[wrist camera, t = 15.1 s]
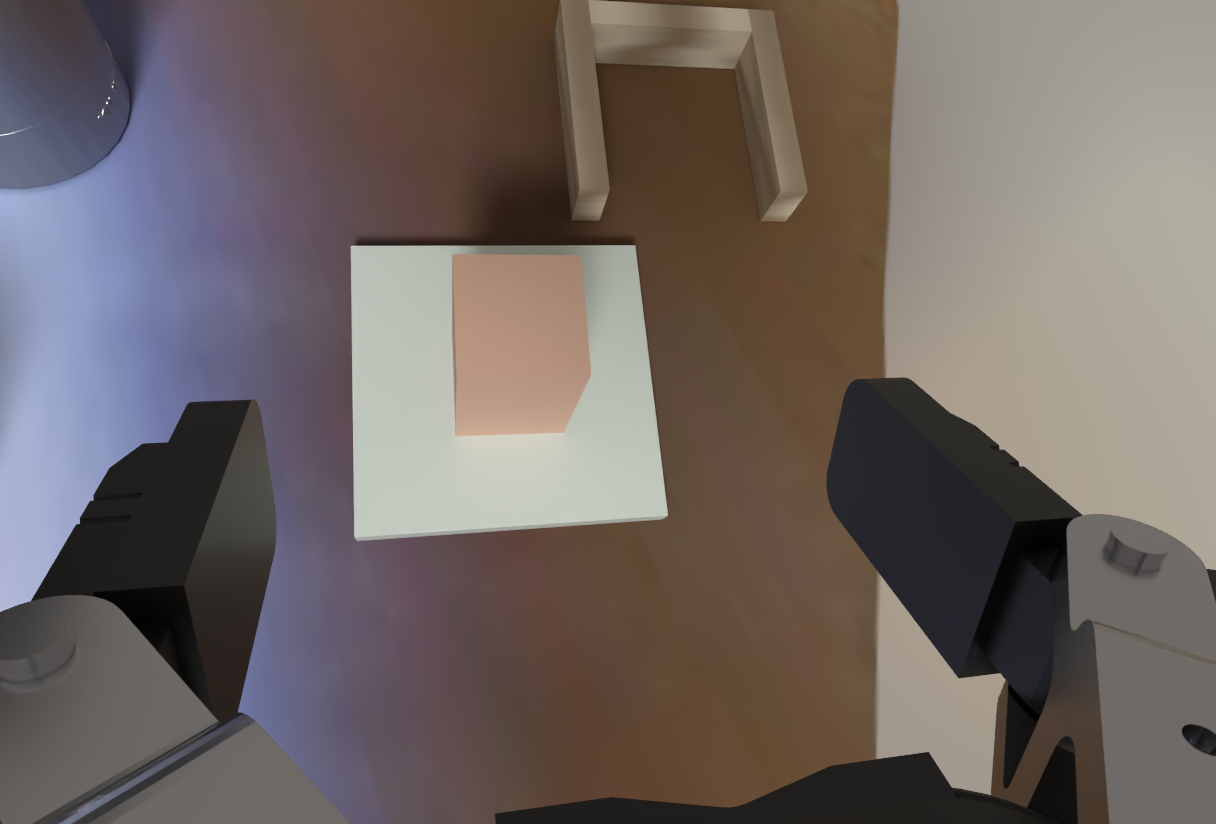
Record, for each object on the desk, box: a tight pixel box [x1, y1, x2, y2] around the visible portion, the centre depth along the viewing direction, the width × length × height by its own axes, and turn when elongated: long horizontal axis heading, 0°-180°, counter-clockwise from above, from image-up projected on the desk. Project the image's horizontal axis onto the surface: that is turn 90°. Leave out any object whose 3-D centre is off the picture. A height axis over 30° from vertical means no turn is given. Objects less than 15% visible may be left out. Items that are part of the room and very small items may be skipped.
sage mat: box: [351, 245, 668, 541], centre depth 39 cm, size 14×14×1 cm
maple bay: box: [554, 0, 808, 221], centre depth 45 cm, size 12×12×3 cm
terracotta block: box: [452, 254, 591, 436], centre depth 35 cm, size 5×5×8 cm
